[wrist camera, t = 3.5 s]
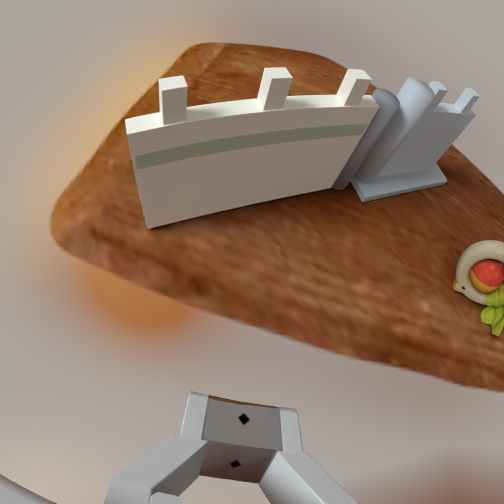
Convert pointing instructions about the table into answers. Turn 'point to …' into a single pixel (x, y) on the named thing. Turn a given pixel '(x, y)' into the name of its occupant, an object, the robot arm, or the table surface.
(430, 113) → the grey toy wall
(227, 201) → the fence panel
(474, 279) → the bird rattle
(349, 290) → the table surface
